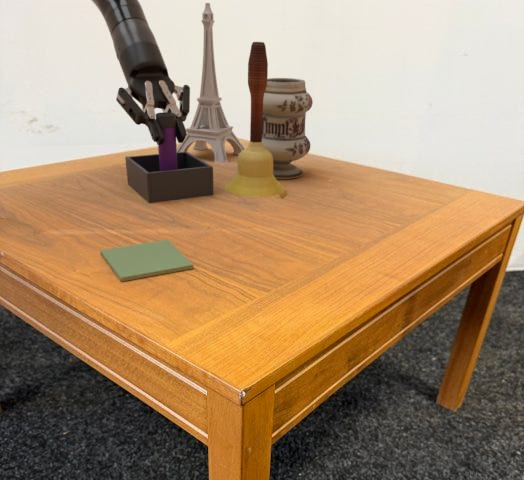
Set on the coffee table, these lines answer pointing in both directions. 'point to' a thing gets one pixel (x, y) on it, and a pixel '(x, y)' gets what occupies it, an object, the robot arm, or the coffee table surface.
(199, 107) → the eiffel tower
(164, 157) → the marker
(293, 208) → the coffee table surface
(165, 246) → the mat
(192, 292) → the coffee table surface
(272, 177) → the handbell
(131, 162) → the bin
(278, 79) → the apothecary jar
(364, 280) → the coffee table surface
